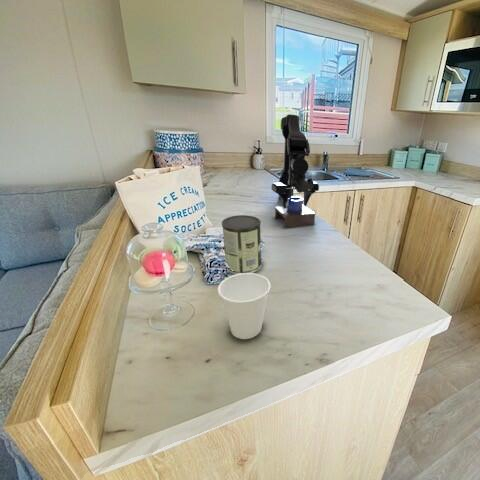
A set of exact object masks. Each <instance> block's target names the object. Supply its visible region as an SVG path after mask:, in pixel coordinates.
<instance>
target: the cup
mask: <svg viewBox="0 0 480 480" xmlns="http://www.w3.org/2000/svg"><path fill="white" fill-rule="evenodd" d="M271 285H272V284H271V282H270V280H269V279H268V278H267V277H266V276H264V275H262V274H259V273H256V272H254V273H240V274H233V275H230V276H227V277H226V278H224V279H223V280H222V281H221V282H220V283H219V284H218V287H217V293H218V296H219V297H220V300H221V303H222V306H223V309H224V313H225V315H226V319H227V322H228V325H229V329H230V331H231V334H232V336H233V337H235V338H237V339H240V340H249V339H252V338H254V337H257V336H258V335H259V334H260V333H261V331H262V328H263V324H264V323H263V322H264V317H265V312H266V306H267V304H268V303H267V302H268V298H269V292H270V291H271V287H272V286H271Z"/></svg>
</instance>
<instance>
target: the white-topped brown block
mask: <svg viewBox="0 0 480 480" xmlns="http://www.w3.org/2000/svg"><path fill="white" fill-rule="evenodd" d="M315 218H316V213H315V212H314V211H313V210H312V209H310V208H308V207H307V206H306V207H305V206H304V204H303V211H302V212H298V213H294V212H289V211H288V210H287V205H286V208H284V207H283V205H282V206H275V207H274V219H276V220H278V219H279V220H280V219H284V228H285V229H291V228H297V227H306V226H313V225H315V222H316V221H315V220H316V219H315Z"/></svg>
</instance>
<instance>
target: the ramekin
mask: <svg viewBox="0 0 480 480" xmlns="http://www.w3.org/2000/svg"><path fill="white" fill-rule="evenodd" d="M303 205H304V197H301V196H297V195H296V196H294V195H293V196H292V197H288V199H287V201H286V206H287V210H288V211H289V212H294V213H298V212H302V211H303Z"/></svg>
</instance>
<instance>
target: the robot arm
mask: <svg viewBox="0 0 480 480" xmlns="http://www.w3.org/2000/svg"><path fill="white" fill-rule="evenodd" d="M301 127H302V126H301V118H300V116H299V115H298V114H293V113H288V114H286V115H285V116H284V117H281V119H280V130H281V133H282V136H283V138H284V149H283V150H284V151H283V152H284V153H283V154H284V155H283V157H284V158H283V167H282V170H281V171H280V173H279V176H278V182H273V183H272V184H271V191H272V192H274V193H275V194H277V195H278V198H279V200H280V202H281V204H282V206H283V207H284V208H286V206H287V199H288V197H292V196H294V190H296V192H297V193H299V194H302V193H303V205H304V206H305V207H307V205H308V203H309V200H310V199H311V196H312V195H313V194H315V193H316V192H318V191H319V190H320V185H319V184H318V183H317V182H316V181H314V179H313V178H306V173H307V172H308V170H309V163H308V161H307V160H306V157H309V156H310V154H311V148H310V141H309V139H308V138H307V135H306V134H305V133H304V132H302V131H301Z"/></svg>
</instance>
